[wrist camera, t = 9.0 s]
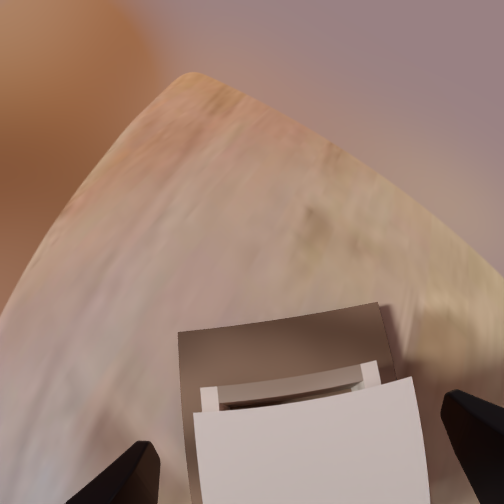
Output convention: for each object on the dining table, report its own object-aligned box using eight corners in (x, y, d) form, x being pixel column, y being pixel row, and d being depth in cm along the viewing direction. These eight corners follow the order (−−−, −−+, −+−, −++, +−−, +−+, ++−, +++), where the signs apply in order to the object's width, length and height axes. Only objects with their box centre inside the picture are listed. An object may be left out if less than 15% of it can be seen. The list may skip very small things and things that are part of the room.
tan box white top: (347, 485, 13) (431, 555, 3) (260, 499, 13) (218, 594, 3) (336, 408, 15) (411, 376, 6) (250, 421, 15) (192, 412, 6)
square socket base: (412, 542, 10) (438, 562, 7) (209, 574, 11) (191, 601, 7) (373, 308, 19) (391, 279, 15) (182, 336, 19) (160, 314, 16)
